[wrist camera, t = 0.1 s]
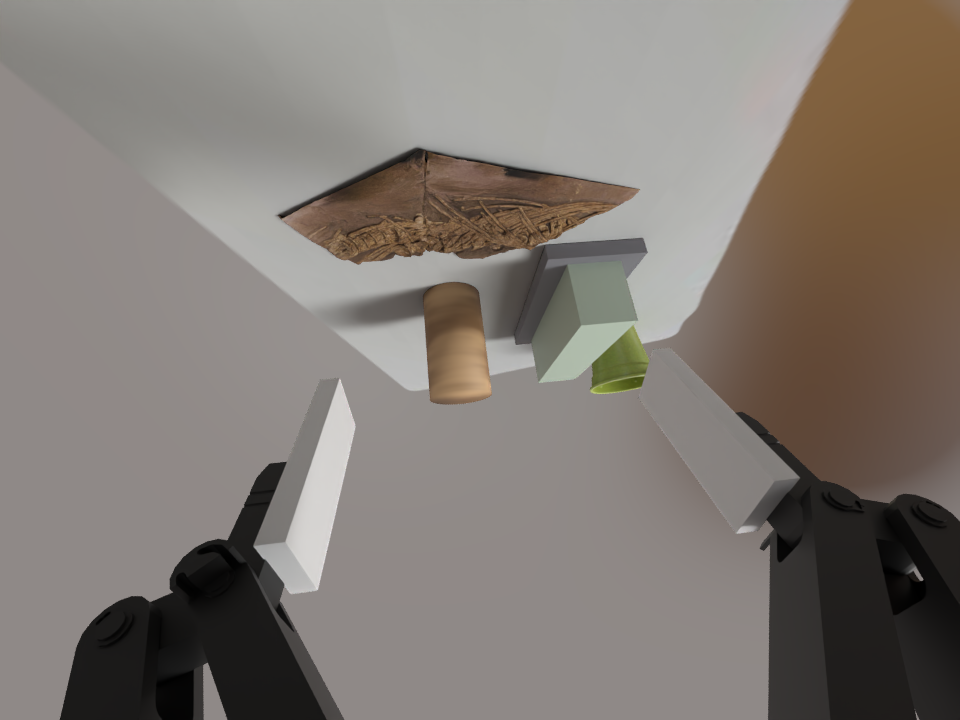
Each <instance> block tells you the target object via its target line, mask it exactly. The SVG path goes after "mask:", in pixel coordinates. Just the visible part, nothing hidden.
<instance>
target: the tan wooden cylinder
mask: <svg viewBox="0 0 960 720" xmlns="http://www.w3.org/2000/svg"><path fill="white" fill-rule="evenodd" d="M423 304H424V319H425V333H426V348H427V362H428V377H429V391H430V401H431V402H433V403H437V404H464V403H470V402H475V401H479V400H483V399H485V398H488V397H490V396H491V394H492V392H491V385H490V376H489V368H488V360H487V352H486V344H485V336H484V328H483V321H482V313H481V305H480V297H479V292H478V290H477V289H476V288H475V287H473V286H472V285H469V284H466V283H460V282H449V283H443V284H439V285H436V286H434V287H432V288H430V289H428V290H427V291H426V292H425V294H424V296H423Z"/></svg>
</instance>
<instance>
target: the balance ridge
mask: <svg viewBox="0 0 960 720" xmlns="http://www.w3.org/2000/svg"><path fill="white" fill-rule="evenodd" d="M647 253H648V252H647V249H646V246H645V243H644V239H643V238H641V239H627V240H612V241H597V242H582V243H568V244H553V245H545V247H544V250H543V253H542V256H541V259H540V262H539V265H538V267H537V270H536V273H535V276H534V279H533V282H532V285H531V288H530V291H529V294H528V296H527V299H526V302H525V305H524V308H523V311H522V314H521V317H520V320H519V323H518V326H517V328H516V331H515V334H514V336H515V343H516V345H519V344H530V343H532V348H533V354H534V360H535V366H536V372H537V377H538V383H541V382H551V381H561V380H571V379H576V378H577V377H578V376H579V375H580V374H581V373H582V372H583V371H584V370H585V369H587V368H588V367H589V366H590V365H591V364H592V363H593V362H594V361H595V360H596V359H597V358H598V357H599V356H601V355H602V354H603V353H604V352H605V351H606V350H607V349H608V348H609V347H610V346H611V345H612V344H613V343H615V342H616V341H617V340H618V339H619V338H620V337H621V336H622V335H623V334H624V333H625V332H626V331H627V330H628V329H630V328H631V327H632V326H633V325H634V324H635V323H636V322H637V321H638V319H637V315H636V311H635V308H634V304H633V301H632V297H631V294H630V290H629V287H628V283H627V280H626V279H627V278H628V276H629V275H630V274H631V273H632V271H633V270H634V269H635V268H636V266H637V265H638V264H639V263H640V261H641V260H642V259H643V258H644V256H645V255H646V254H647Z"/></svg>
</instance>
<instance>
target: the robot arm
mask: <svg viewBox="0 0 960 720" xmlns="http://www.w3.org/2000/svg"><path fill="white" fill-rule="evenodd" d="M638 398H639V399H640V401H641V402H642V404H643V405H644V406H645V408H646V409H647V411H648V412H649V413H650V415H651V416H652V418H653V419H654V420H655V422H656V423H657V425H658V426H659V427H660V429H661V430H662V432H663V433H664V434H665V436H666V437H667V438H668V440H669V441H670V443H671V444H672V445H673V447H674V448H675V449H676V451H677V452H678V454H679V455H680V456H681V458H682V459H683V461H684V462H685V463H686V465H687V466H688V467H689V469H690V470H691V472H692V473H693V474H694V476H695V477H696V479H697V480H698V481H699V483H700V484H701V486H702V487H703V488H704V490H705V491H706V493H707V494H708V495H709V496H710V498H711V500H712V501H713V502H714V504H715V505H716V506H717V508H718V509H719V511H720V512H721V514H722V515H723V516H724V518H725V519H726V520H727V522H728V523H729V524H730V526H731V527H732V529H733V530H734V532H735V533H736V534H737V533H745V532H752V531H758V530H759V529H760V528H761V526H762V525H763V524H764V523H765V521H766V520H767V521H768V522H769V523H770V524H771V526H772V527H773V528H774V530H773V531H772V532H771V533H770V534H769V536H768V537H767V538H766V539H765V540H764V542H763V543H762V544H761V547H760V549H761V550H763V551H764V550H765V549H766V548H767V547H768V545H770V608H769V610H770V611H769V701H768V703H769V704H768V705H769V706H768V720H917V718H916V714H915V711H916V713H917V715H918V717H919V719H920V720H960V521H959V520H958V519H957V518H956V517H955V516H954V515H953V514H952V513H951V512H949V511H948V510H946V509H944V508H943V507H942V506H940V505H939V504H936V503H935V502H932V501H931V500H929V499H926V498H923V497H920V496H917V495H912V494H902V495H899V496H897V497H896V498H895V499H894V500H893V501H891V502H890V503H883V502H877V501H870V500H864V499H860V498H859V497H858V496H857V495H855V494H854V493H852V492H851V491H850V490H848V489H846V488H844V487H842V486H840V485H838V484H835V483H831V482H827V481H820V480H819V479H818V478H817V477H816V476H815V475H814V474H813V473H811V472H810V471H809V470H808V469H807V468H806V467H805V466H804V465H803V464H802V463H801V462H800V461H799V460H798V459H797V458H796V457H795V456H794V455H793V454H792V453H790V452H789V451H788V450H787V449H786V448H785V447H784V446H783V445H780V443H779V441H778V440H777V439H776V438H775V437H774V436H773V435H770V432H769V431H767V429H765V428H764V427H763V426H762V425H761V424H760V423H759V422H758V421H757V420H755V419H753V418H751V417H750V416H748V415H746V414H745V413H743V412H738V413H735V412H734V411H733V410H732V409H731V408H730V407H729V406H728V405H727V404H726V403H725V402H724V401H723V400H722V399H721V398H720V397H719V396H717V394H716V393H715V392H714V391H713V390H712V389H710V387H709V386H708V385H707V384H706V383H705V382H704V381H702V380H701V378H700V377H699V376H698V375H697V374H696V373H694V372H693V370H692V369H691V368H690V367H689V366H688V365H687V364H686V363H685V362H684V361H683V360H682V359H681V358H680V357H679V356H678V355H677V354H676V353H675V352H674V351H673V350H672V349H671V348H664V349H653V351H652V355H651V358H650V361H649V364H648V368H647V371H646V374H645V377H644V381H643V384H642V387H641V390H640V394H639V397H638ZM354 431H355V423H354V420H353V417H352V414H351V411H350V408H349V405H348V402H347V399H346V396H345V393H344V389H343V387H342V383H341V380H340V378H334V379H324V380H320V381H319V384H318V386H317V389H316V391H315V394H314V396H313V399H312V401H311V404H310V406H309V409H308V411H307V414H306V416H305V419H304V421H303V424H302V426H301V428H300V431H299V434H298V436H297V438H296V441H295V443H294V446H293V448H292V451H291V454H290V456H289V459H288V461H287V462H280V463H271V464H269V465H268V466H267V467H266V468H265V469H264V470H263V471H262V472H261V474H260V475H259V476H258V477H257V478H256V480H255V483H254V485H253V487H252V489H251V492H250V495H249V496H248V498H247V500H246V502H245V504H244V508H242V510H241V513H240V515H239V517H238V519H237V521H236V524H235V526H234V528H233V530H232V532H231V534H230V536H229V538H228V540H221V539H217V540H212V541H207V542H205V543H203V544H201V545H199V546H198V547H196V548H194V549H193V550H192V551H190V552H189V553H188V554H187V555H186V556H184V557H183V558H182V560H181V561H180V562H179V564H178V565H177V566H176V567H175V569H174V571H173V573H172V575H171V578H170V590H171V591H173V593H171V594H169V595H166V596H164V597H161V598H159V599H157V600H155V601H152V602H149V601H147V600H146V599H145V598H143V597H142V596H131V597H129V598H126V599H123V600H120V601H118V602H116V603H115V604H113V605H112V606H110V607H108V608H107V609H105V610H104V611H103V612H102V613H101V614H100V615H98V616H97V617H96V618H95V619H94V620H93V621H92V622H91V623H90V625H89V626H88V627H87V629H86V630H85V631H84V633H83V634H82V636H81V638H80V641H79V643H78V645H77V648H76V652H75V656H74V660H73V665H72V669H71V673H70V678H69V682H68V686H67V691H66V695H65V700H64V704H63V709H62V713H61V717H60V720H203V665H204V664H206V663H208V664H209V666H210V670H211V672H212V676H213V679H214V681H215V684H216V687H217V690H218V693H219V696H220V699H221V702H222V705H223V708H224V711H225V713H226V717H227V720H344V718H343V717H342V715H341V713H340V711H339V709H338V707H337V705H336V703H335V702H334V700H333V698H332V696H331V694H330V692H329V690H328V688H327V687H326V685H325V683H324V681H323V679H322V677H321V675H320V674H319V672H318V670H317V668H316V666H315V664H314V663H313V661H312V659H311V657H310V655H309V653H308V651H307V649H306V648H305V646H304V644H303V642H302V640H301V638H300V636H299V635H298V633H297V631H296V629H295V627H294V625H293V623H292V622H291V620H290V618H289V616H288V614H287V612H286V611H285V608H284V607H283V605H282V603H281V602H280V598H281V595H282V591H283V588H284V586H285V587H286V589H287V590H288V591H289V593H290V594H295V593H303V592H310V591H317V590H318V587H319V582H320V578H321V574H322V570H323V565H324V561H325V557H326V552H327V548H328V544H329V539H330V535H331V531H332V527H333V522H334V518H335V514H336V509H337V505H338V500H339V496H340V492H341V488H342V483H343V479H344V475H345V470H346V466H347V462H348V457H349V453H350V449H351V444H352V440H353V436H354ZM916 568H917V569H918V571H919V573H920V574H921V576H922V577H923V579H924V580H923V581H920V580H919V579H918V578H917V576H916V575H915V573H914V571H913V570H915V569H916Z"/></svg>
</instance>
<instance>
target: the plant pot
mask: <svg viewBox="0 0 960 720" xmlns="http://www.w3.org/2000/svg"><path fill="white" fill-rule="evenodd" d="M648 364H649V359H648V357H647V354H646V352H645V350H644V348H643V346H642V344H641V341H640V339H639V337H638V335H637V332H636V330H635V328H634V326H632V327H631V328H630V329H628V330H627V331H626V332H625V333H624V334H623V335H622V336H621V337H620V338H619V339H618V340H617V341H616V342H615V343H613V344H612V345H611V346H610V347H609V348H608V349H607V350H606V351H605V352H604V353H603V354H602V355H601V356H599V357H598V358H597V359H596V360H595V361H594V362H593V363H592V371H593V377H592V387H591V388H590V392H592V393H596V394H606V393H614V392H622V391H628V390H633V389H637V388H641V387H642V384H643V381H644V377H645V374H646V371H647V368H648Z"/></svg>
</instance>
